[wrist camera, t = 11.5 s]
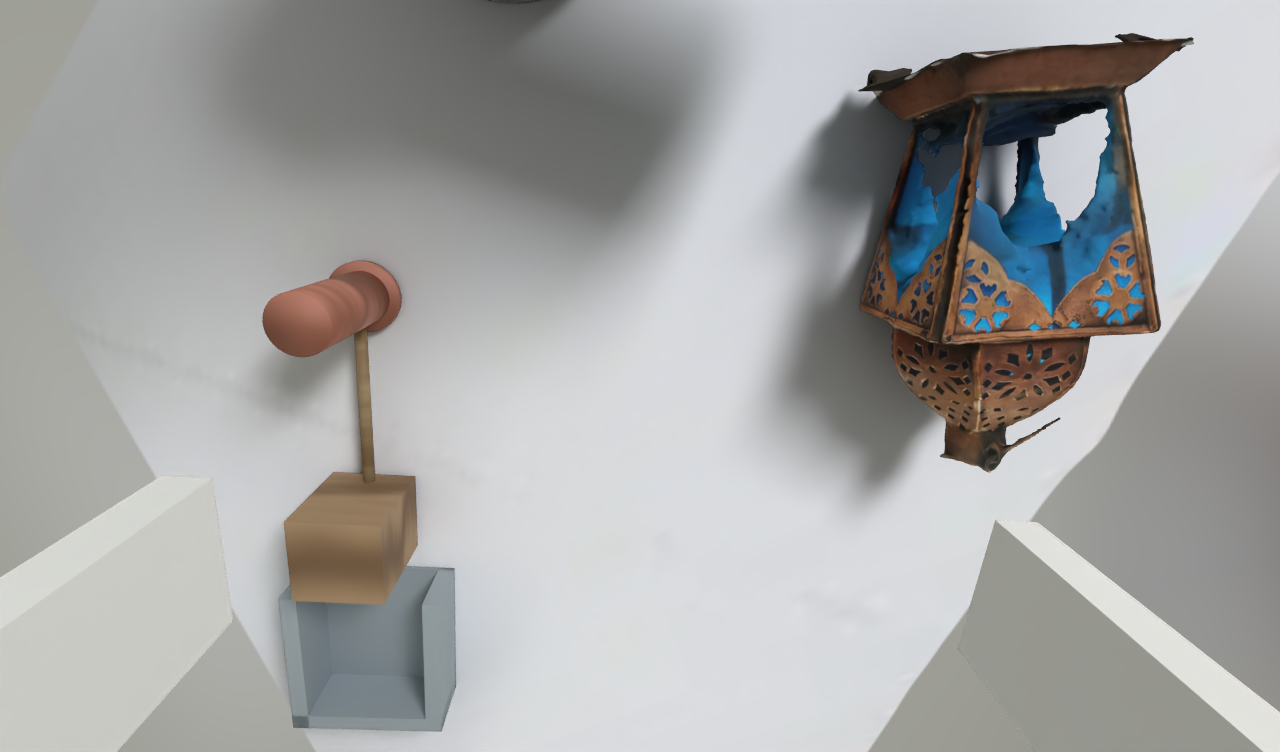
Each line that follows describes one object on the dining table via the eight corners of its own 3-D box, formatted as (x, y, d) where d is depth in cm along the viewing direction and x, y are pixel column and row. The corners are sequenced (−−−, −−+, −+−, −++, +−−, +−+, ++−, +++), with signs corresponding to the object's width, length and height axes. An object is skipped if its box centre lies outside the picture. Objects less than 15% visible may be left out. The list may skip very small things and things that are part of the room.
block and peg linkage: (318, 257, 40) (234, 276, 31) (409, 264, 40) (351, 285, 31) (340, 539, 46) (275, 621, 37) (418, 543, 46) (372, 625, 38)
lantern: (894, 91, 44) (890, 407, 50) (804, 60, 32) (814, 480, 38) (1189, 30, 34) (1139, 435, 40) (1217, -49, 22) (1140, 546, 28)
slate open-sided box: (309, 561, 47) (278, 599, 43) (454, 568, 48) (438, 605, 43) (320, 682, 50) (293, 727, 46) (455, 686, 51) (441, 731, 47)
